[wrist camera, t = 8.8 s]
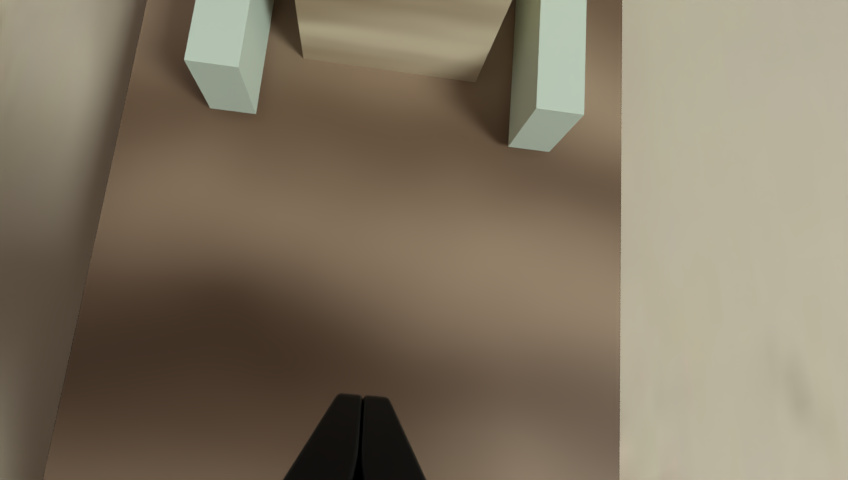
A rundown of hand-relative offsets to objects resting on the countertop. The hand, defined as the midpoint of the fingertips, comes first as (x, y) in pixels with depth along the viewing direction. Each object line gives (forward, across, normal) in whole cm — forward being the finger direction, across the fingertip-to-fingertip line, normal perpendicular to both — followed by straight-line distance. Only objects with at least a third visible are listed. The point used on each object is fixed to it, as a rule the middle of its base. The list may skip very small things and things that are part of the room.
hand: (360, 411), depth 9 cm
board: (+10, 0, 0) cm, 10 cm away
